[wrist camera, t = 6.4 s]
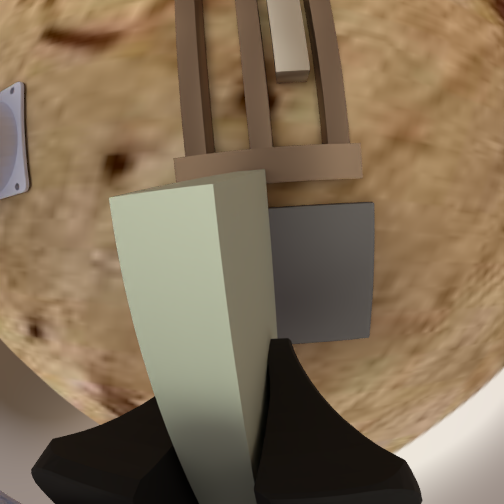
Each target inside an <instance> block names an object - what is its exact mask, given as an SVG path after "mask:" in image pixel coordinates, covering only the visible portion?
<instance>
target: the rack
mask: <svg viewBox="0 0 504 504" xmlns="http://www.w3.org/2000/svg"><path fill="white" fill-rule="evenodd" d="M303 1H304V7H305V12H306V18H307V24H308V30H309V36H310V43H311V50H312V57H313V64H314V71H315V79H316V87H317V96H318V105H319V114H320V124H321V135H322V144H316V145H297V146H282V147H273V139H272V128H271V118H270V108H269V98H268V89H267V80H266V70H265V62H264V53H263V44H262V36H261V28H260V20H259V12H258V4H257V0H235V4H236V13H237V23H238V33H239V42H240V52H241V62H242V72H243V82H244V92H245V102H246V112H247V123H248V133H249V144H250V149H246V150H236V151H227V152H218V153H215V148H214V138H213V128H212V117H211V106H210V95H209V84H208V72H207V59H206V47H205V33H204V19H203V4H202V0H175V22H176V44H177V62H178V77H179V91H180V104H181V115H182V127H183V137H184V147H185V157H181V158H174V167H175V176H176V183H177V182H182V181H187V180H192V179H198V178H203V177H208V176H214V175H220V174H225V173H231V172H238V171H250V170H261V169H265V176H266V183H278V182H292V181H309V180H328V179H353V178H363V174H362V157H361V143H350V140H349V128H348V118H347V108H346V100H345V91H344V83H343V76H342V69H341V62H340V55H339V49H338V43H337V37H336V31H335V26H334V20H333V15H332V10H331V5H330V1H329V0H303Z"/></svg>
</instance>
